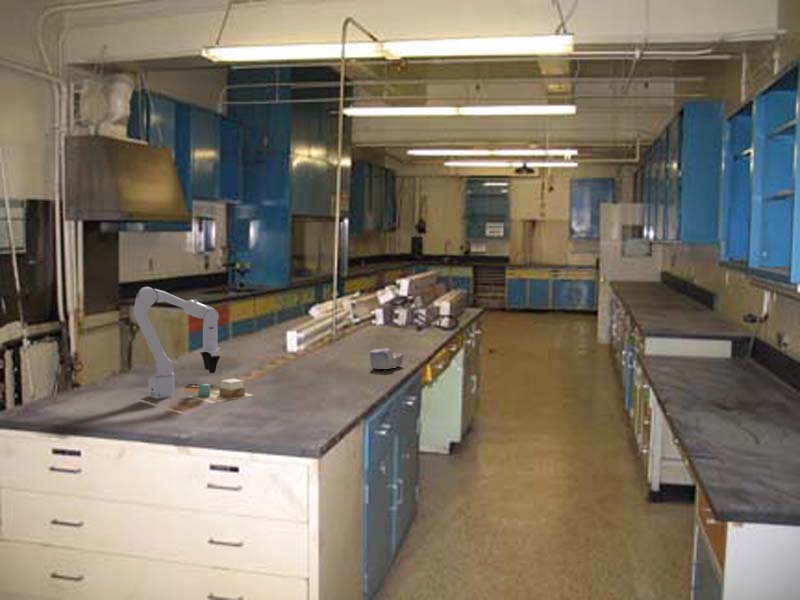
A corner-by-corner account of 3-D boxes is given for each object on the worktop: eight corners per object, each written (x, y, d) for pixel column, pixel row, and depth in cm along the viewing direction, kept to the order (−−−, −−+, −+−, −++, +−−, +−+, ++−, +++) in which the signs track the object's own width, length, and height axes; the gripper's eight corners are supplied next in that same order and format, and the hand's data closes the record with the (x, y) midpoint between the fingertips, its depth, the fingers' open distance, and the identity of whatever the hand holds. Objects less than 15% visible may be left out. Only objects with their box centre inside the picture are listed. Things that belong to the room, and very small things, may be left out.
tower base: (230, 398, 297) (230, 390, 297) (219, 395, 301) (219, 387, 301) (244, 395, 302) (244, 388, 302) (233, 392, 307) (233, 385, 306)
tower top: (230, 390, 297) (230, 382, 297) (221, 387, 301) (221, 380, 301) (242, 388, 302) (242, 380, 302) (233, 385, 306) (233, 378, 305)
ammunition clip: (213, 385, 314) (200, 393, 303) (213, 389, 315) (200, 398, 303) (189, 383, 316) (175, 391, 305) (189, 387, 317) (175, 396, 305)
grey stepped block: (367, 348, 364) (380, 343, 383) (366, 370, 364) (380, 364, 384) (393, 350, 360) (405, 345, 379) (392, 372, 361) (404, 366, 380)
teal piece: (202, 397, 296) (202, 386, 296) (196, 396, 299) (196, 384, 299) (212, 396, 300) (212, 384, 299) (205, 394, 303) (205, 383, 302)
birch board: (212, 405, 288) (212, 403, 288) (187, 398, 298) (187, 396, 298) (253, 397, 303) (253, 395, 303) (229, 390, 314) (229, 388, 313)
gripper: (224, 339, 299) (224, 373, 300) (216, 334, 312) (216, 367, 313) (206, 340, 296) (206, 374, 297) (198, 335, 309) (198, 368, 310)
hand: (210, 371), depth 305 cm, fingers open, 7 cm apart
